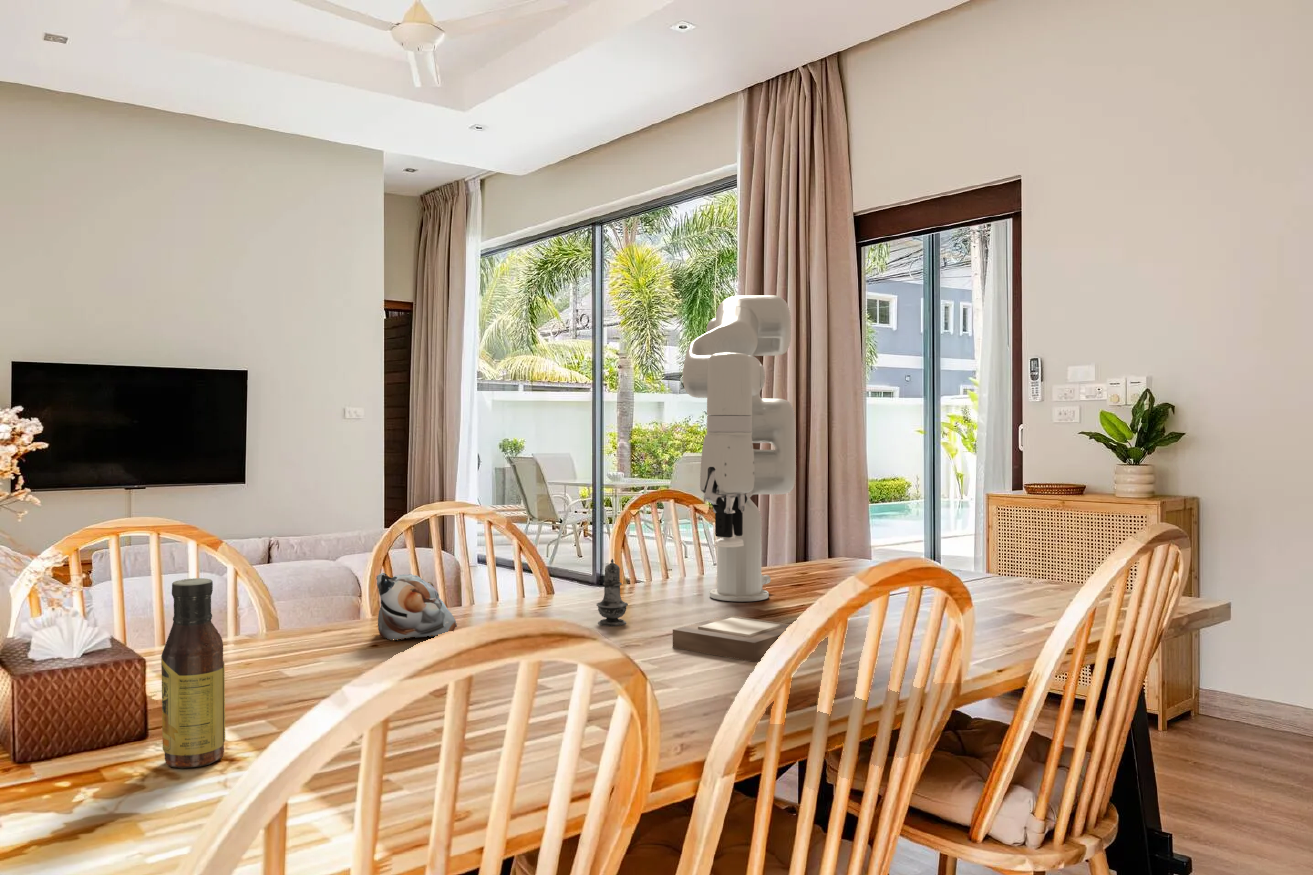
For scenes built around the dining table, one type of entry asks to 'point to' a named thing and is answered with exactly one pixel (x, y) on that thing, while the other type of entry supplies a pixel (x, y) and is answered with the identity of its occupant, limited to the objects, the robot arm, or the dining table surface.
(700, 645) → the walnut base
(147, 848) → the dining table surface
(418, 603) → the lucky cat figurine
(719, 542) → the chess piece
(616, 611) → the salt shaker
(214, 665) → the sauce bottle
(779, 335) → the robot arm
